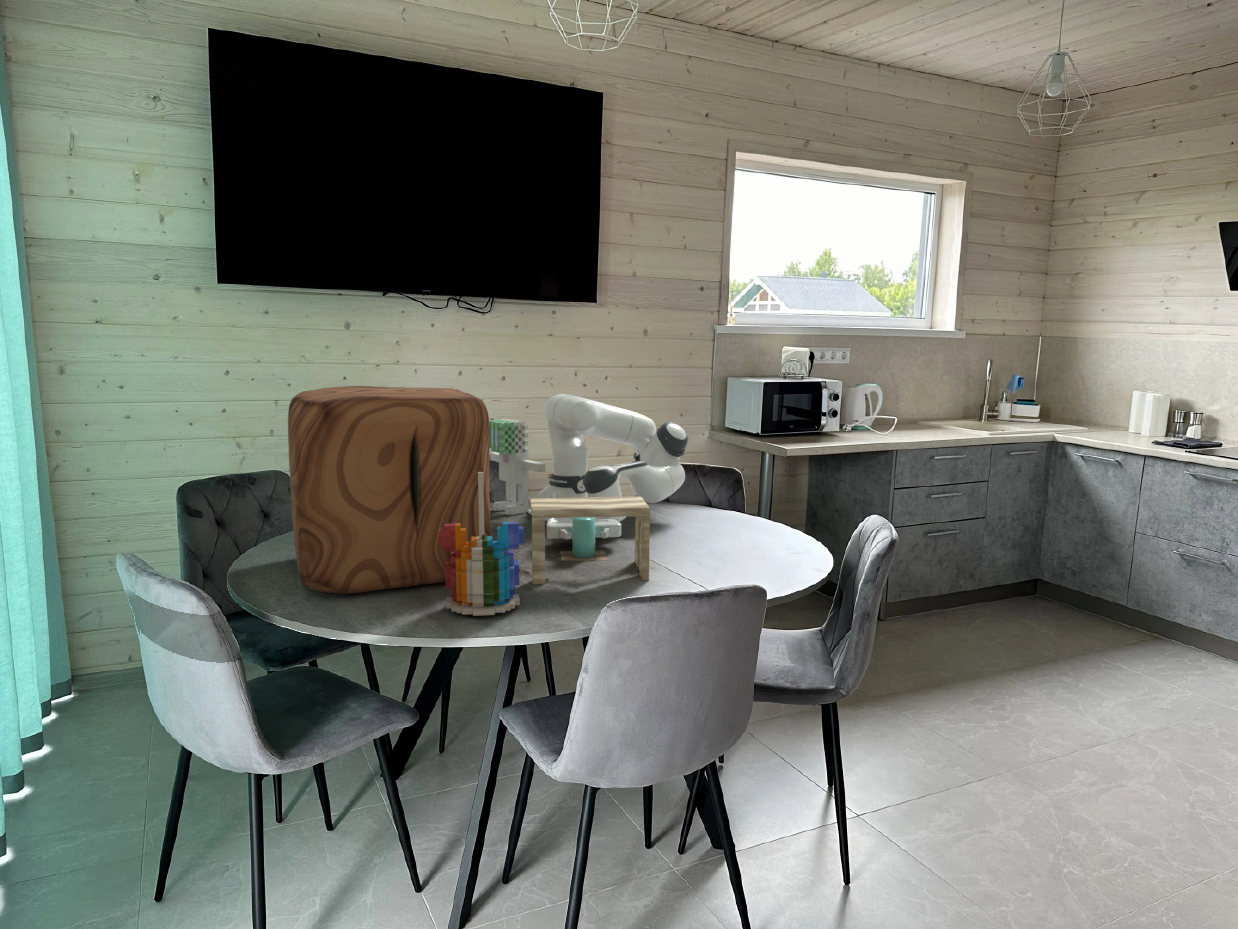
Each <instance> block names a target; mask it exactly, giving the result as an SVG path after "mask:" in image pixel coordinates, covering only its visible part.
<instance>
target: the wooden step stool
mask: <svg viewBox="0 0 1238 929" xmlns="http://www.w3.org/2000/svg"><path fill="white" fill-rule="evenodd" d="M529 501H530V509H531V514H532V515H531V514H530V515H531V575H532V576H531V578H532V579H531V582H532V583H531V584H532V585H545V584H546V521H545V518H572V517H620V516H627V517H634V563H635V565H636V567H637V569H638V571H637V573H638V572H639V573H638V574H640V575H639V576H640V578H641V580H642V581H643V582H646V581H647V582H648V581H650V538H651V536H650V534H651V532H650V531H651V530H650V528H651V527H650V526H651V525H650V524H651V521H650V520H651V517H650V516H651V508H650V505H648V504H647V503H648V502H646V501H644V499H643V498H642V497H641V496H637V495H636V496H622V497H572V498H536V497H531V498H530V499H529Z"/></svg>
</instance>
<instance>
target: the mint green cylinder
mask: <svg viewBox="0 0 1238 929" xmlns="http://www.w3.org/2000/svg"><path fill="white" fill-rule="evenodd" d="M571 540H572V541H571V543H572V545H571V546H572V548H571V551H572V556H573V557H575V558H592V557H594V556H595V550H596V538H595V517H573V518H572V539H571Z"/></svg>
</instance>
